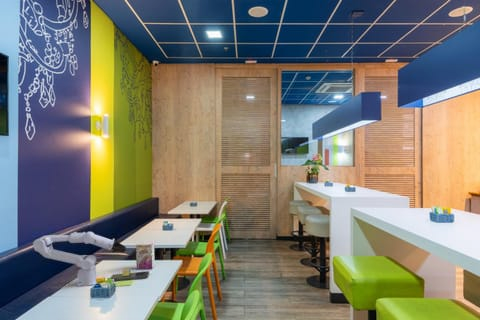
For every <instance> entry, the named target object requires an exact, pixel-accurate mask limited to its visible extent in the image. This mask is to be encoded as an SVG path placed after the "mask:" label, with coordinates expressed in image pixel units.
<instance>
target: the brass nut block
mask: <svg viewBox="0 0 480 320" xmlns="http://www.w3.org/2000/svg"><path fill="white" fill-rule="evenodd" d="M131 273H132V272H131V268H130V267H129V268H123V269H122V271H121V274H122V277H128V276H130V275H131Z"/></svg>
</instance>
